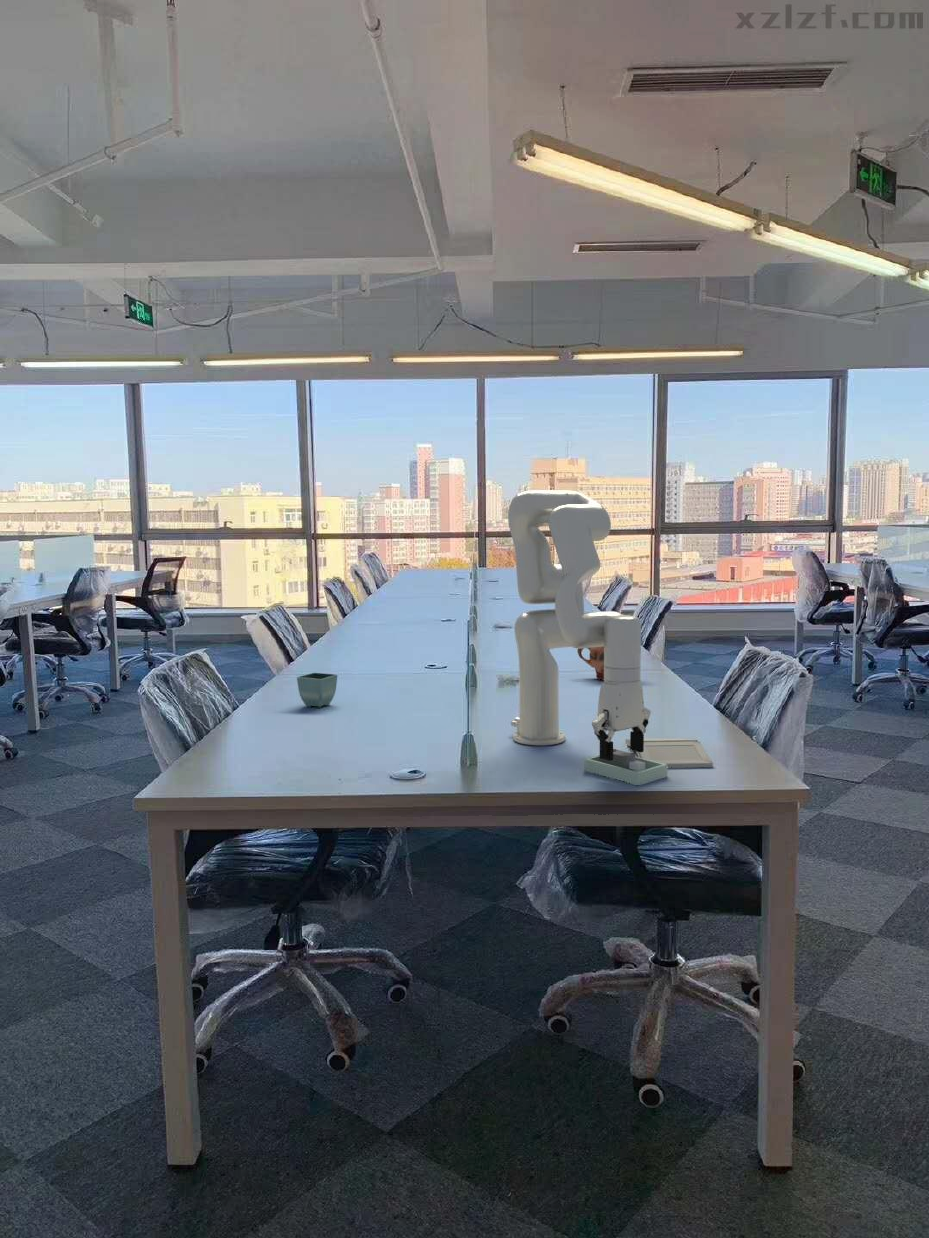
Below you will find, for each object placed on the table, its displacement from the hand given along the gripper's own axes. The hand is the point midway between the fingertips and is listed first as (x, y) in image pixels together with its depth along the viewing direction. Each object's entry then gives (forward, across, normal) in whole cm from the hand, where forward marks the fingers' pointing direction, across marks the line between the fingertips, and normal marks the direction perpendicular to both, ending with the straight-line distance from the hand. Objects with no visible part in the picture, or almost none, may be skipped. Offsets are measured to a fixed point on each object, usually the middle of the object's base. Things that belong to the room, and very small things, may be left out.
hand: (621, 755), depth 186 cm
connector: (+3, 0, 0) cm, 3 cm away
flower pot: (+4, +12, -105) cm, 106 cm away
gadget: (+5, -19, -3) cm, 20 cm away
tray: (+4, 0, +1) cm, 4 cm away
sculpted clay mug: (+4, -81, -76) cm, 111 cm away
